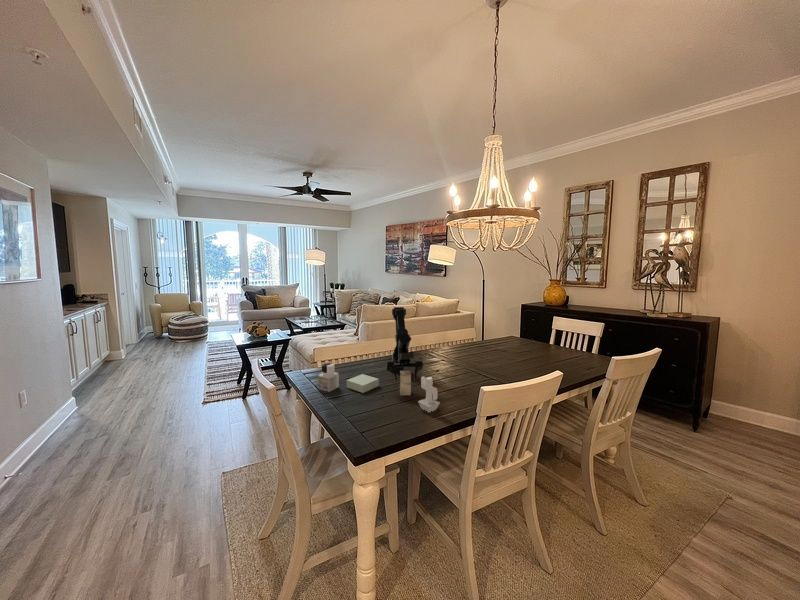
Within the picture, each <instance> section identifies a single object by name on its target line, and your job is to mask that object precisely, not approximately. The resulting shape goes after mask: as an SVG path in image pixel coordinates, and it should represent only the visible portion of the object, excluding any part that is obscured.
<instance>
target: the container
mask: <svg viewBox="0 0 800 600" xmlns="http://www.w3.org/2000/svg"><path fill="white" fill-rule="evenodd" d="M335 367H336V366H335V364H334V363H331V362H328V363H327V362H326V363H323V364H322V365H321V373H320V374H318V375H317V388H318V390H320V391H324V392H329V393H331V391H334V390H336V389H338V388H339V387H340V385H339V383H340V382H339V381H340V379H339V377H340V375H339V372H335V369H336V368H335Z"/></svg>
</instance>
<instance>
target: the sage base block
mask: <svg viewBox="0 0 800 600" xmlns="http://www.w3.org/2000/svg"><path fill="white" fill-rule="evenodd" d="M379 381H380V380H379V378H377V377H373V376H369V375H366V374H364V373H361V374H359V375H356V376H354V377H351V378H349V379H346V388H348V389H350V390H354V391H356V392H360V393H362V394H364V393H366V392H369V391H370V390H373V389H376V388H378V387H379V386H380V385H379V383H380V382H379Z"/></svg>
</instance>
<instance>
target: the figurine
mask: <svg viewBox="0 0 800 600" xmlns="http://www.w3.org/2000/svg"><path fill="white" fill-rule="evenodd" d="M433 381H434V380H433V377H432V376H429V377H426V376H421V378H420V383H421V384H420V386H421V389H423V390H425V398H423V399H420V400H418V401H417V403H418V405H419V406H420V408H421V410H422V409H423V410H422V411H424V410H425V411H424V412H426V411H427V412H426V413H429V414H430V413H432V412H434V411H436V410H437V409H438V407H439V405H441V402H440V401H439V400H438V394H439V393H438V388H437V387H435V386H433V385H434V382H433ZM437 400H438V401H437ZM431 411H432V412H431Z"/></svg>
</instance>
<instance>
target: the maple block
mask: <svg viewBox="0 0 800 600" xmlns="http://www.w3.org/2000/svg"><path fill="white" fill-rule="evenodd" d="M399 374H400V375H399V393H400V396H412V372H411V370H406V371H400V373H399Z"/></svg>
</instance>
